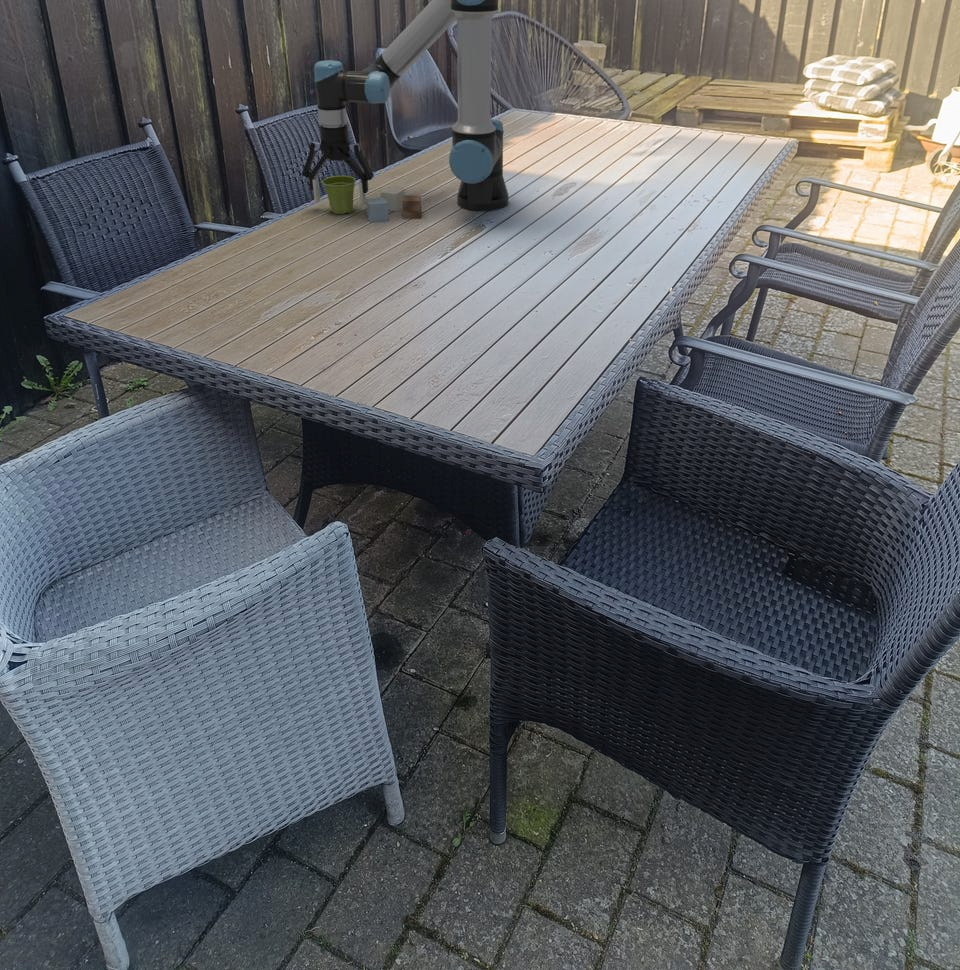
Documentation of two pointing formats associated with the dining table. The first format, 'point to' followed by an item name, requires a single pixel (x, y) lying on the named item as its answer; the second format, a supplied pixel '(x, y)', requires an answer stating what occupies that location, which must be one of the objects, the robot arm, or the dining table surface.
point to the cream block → (393, 198)
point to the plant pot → (340, 193)
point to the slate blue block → (377, 210)
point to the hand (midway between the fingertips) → (340, 203)
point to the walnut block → (411, 206)
